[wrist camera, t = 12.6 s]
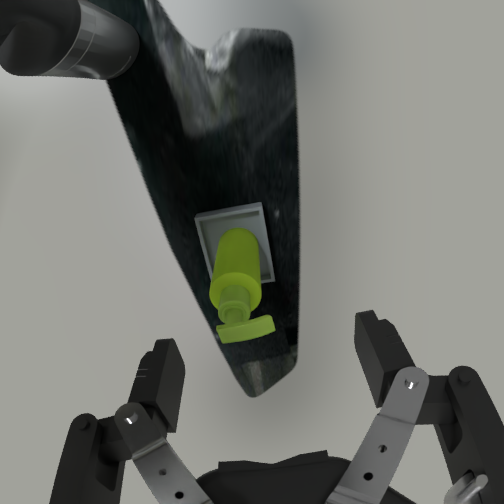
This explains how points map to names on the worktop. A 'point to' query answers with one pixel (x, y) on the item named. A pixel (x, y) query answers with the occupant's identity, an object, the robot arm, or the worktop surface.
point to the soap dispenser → (238, 287)
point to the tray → (235, 217)
